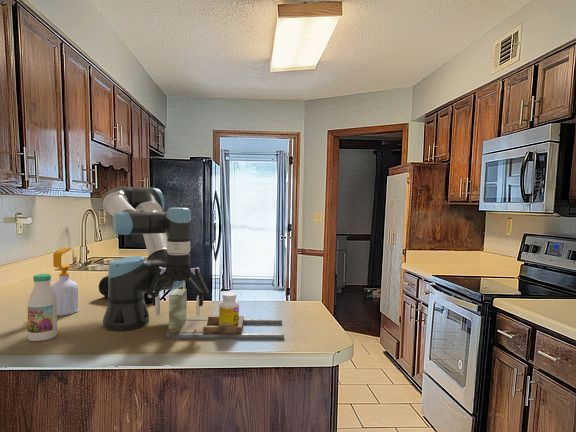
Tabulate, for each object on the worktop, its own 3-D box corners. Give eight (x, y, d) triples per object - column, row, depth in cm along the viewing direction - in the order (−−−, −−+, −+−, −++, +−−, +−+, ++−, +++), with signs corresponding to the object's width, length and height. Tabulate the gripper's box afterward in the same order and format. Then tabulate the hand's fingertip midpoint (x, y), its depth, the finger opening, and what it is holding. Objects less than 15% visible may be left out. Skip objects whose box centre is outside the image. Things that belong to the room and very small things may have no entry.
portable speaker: (161, 300, 160) (161, 277, 160) (145, 306, 151) (145, 282, 150) (114, 293, 168) (114, 272, 168) (96, 299, 159) (96, 276, 158)
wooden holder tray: (165, 335, 119) (166, 296, 119) (174, 323, 131) (174, 287, 130) (241, 336, 121) (242, 297, 120) (243, 324, 132) (244, 288, 132)
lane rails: (165, 339, 117) (165, 334, 117) (177, 322, 133) (177, 318, 133) (284, 339, 120) (284, 334, 120) (281, 323, 135) (282, 319, 135)
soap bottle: (83, 310, 143) (83, 248, 141) (60, 317, 134) (59, 251, 133) (68, 307, 146) (67, 246, 145) (44, 313, 138) (44, 249, 137)
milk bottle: (37, 332, 120) (36, 272, 119) (61, 332, 120) (61, 272, 119) (22, 342, 112) (21, 277, 111) (48, 342, 113) (48, 277, 112)
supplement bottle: (234, 335, 122) (235, 297, 122) (215, 333, 124) (216, 295, 123) (240, 328, 129) (241, 292, 128) (222, 326, 130) (223, 290, 129)
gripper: (136, 254, 119) (136, 318, 120) (214, 255, 121) (213, 319, 122) (144, 251, 127) (144, 311, 128) (217, 252, 128) (216, 312, 129)
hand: (177, 315), depth 125 cm, fingers open, 13 cm apart
